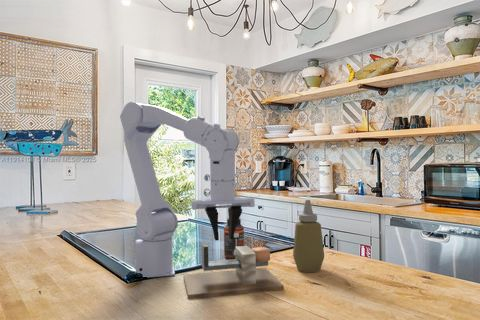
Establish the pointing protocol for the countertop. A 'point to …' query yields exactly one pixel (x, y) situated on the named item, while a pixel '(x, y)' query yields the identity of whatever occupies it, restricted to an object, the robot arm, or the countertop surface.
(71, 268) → the countertop surface
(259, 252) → the block
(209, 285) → the stand
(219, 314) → the countertop surface
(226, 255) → the supplement bottle
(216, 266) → the grey l-shaped bar
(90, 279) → the countertop surface
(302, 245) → the squeeze bottle
